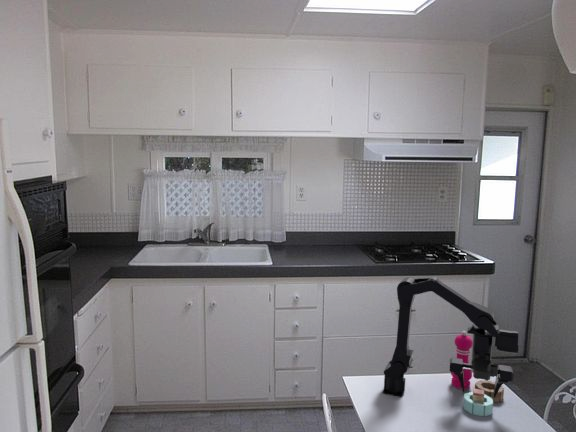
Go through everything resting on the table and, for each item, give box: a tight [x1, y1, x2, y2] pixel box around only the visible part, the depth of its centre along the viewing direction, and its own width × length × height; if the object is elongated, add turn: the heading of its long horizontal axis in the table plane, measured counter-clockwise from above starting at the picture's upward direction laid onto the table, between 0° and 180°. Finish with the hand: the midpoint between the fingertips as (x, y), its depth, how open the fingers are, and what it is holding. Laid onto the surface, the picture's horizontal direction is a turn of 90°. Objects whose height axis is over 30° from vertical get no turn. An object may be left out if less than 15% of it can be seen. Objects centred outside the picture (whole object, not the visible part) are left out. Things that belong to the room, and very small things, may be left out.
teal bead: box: [462, 391, 494, 417], centre depth 153 cm, size 9×9×4 cm
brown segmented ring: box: [474, 379, 505, 403], centre depth 162 cm, size 9×9×4 cm
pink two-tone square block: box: [472, 387, 484, 403], centre depth 153 cm, size 3×3×6 cm
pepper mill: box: [450, 330, 473, 390], centre depth 168 cm, size 7×7×20 cm
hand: (478, 394), depth 152 cm, fingers open, 9 cm apart
